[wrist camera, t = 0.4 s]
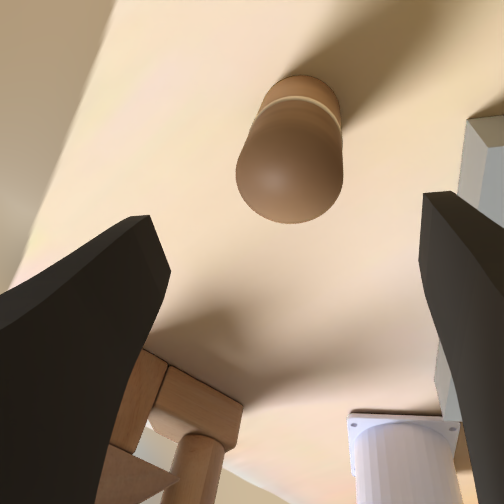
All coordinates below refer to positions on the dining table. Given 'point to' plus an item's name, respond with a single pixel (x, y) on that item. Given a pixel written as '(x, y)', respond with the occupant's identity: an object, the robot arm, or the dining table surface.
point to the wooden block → (172, 427)
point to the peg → (293, 152)
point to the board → (484, 200)
